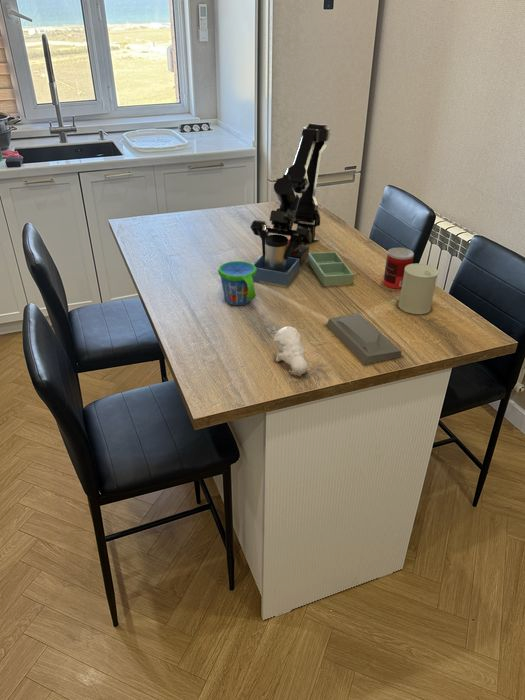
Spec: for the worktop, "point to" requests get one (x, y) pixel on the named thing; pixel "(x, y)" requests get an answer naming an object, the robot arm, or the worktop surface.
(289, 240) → the tap knob
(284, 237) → the travel mug
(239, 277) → the snack cup
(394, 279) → the canned food
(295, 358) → the white animal figurine
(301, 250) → the black square plate
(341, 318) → the soap mold
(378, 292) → the worktop surface
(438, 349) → the worktop surface
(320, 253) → the tray
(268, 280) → the basin
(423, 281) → the can
